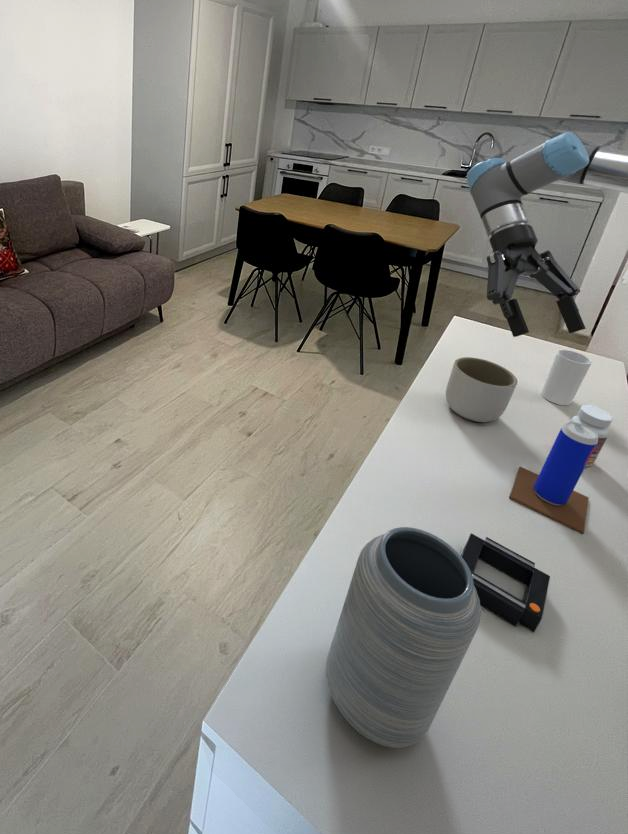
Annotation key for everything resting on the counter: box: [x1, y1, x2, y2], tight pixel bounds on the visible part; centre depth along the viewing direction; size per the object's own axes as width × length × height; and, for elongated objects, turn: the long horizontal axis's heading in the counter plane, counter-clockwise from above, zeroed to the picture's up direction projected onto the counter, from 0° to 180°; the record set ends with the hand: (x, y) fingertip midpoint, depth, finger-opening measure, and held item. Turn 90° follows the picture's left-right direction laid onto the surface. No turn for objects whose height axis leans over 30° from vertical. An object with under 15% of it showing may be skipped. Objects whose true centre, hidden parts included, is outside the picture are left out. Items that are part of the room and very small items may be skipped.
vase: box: [325, 526, 482, 749], centre depth 54 cm, size 12×12×23 cm
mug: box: [540, 349, 593, 406], centre depth 122 cm, size 10×7×12 cm, turn 148°
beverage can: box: [534, 421, 598, 505], centre depth 88 cm, size 5×5×15 cm
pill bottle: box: [569, 404, 614, 468], centre depth 100 cm, size 6×6×11 cm
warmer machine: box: [460, 532, 551, 633], centre depth 73 cm, size 11×11×3 cm
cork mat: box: [508, 466, 590, 535], centre depth 91 cm, size 11×11×1 cm
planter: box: [445, 356, 518, 423], centre depth 113 cm, size 12×12×11 cm
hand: (549, 333), depth 92 cm, fingers open, 13 cm apart
